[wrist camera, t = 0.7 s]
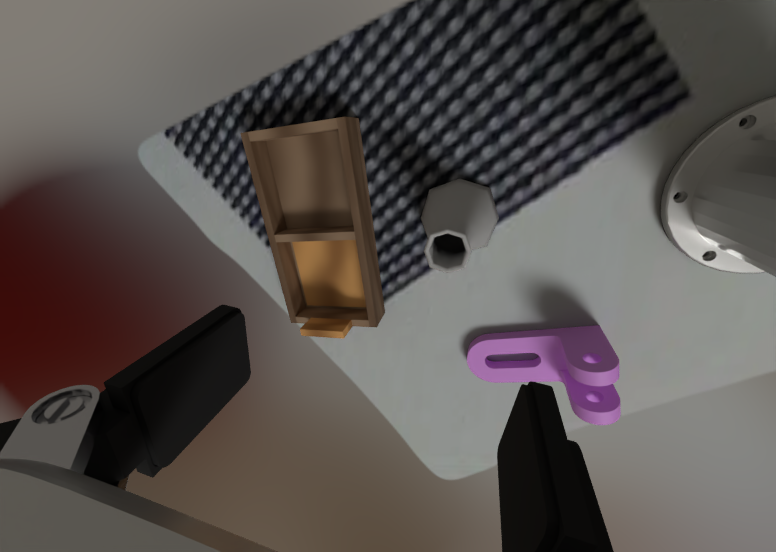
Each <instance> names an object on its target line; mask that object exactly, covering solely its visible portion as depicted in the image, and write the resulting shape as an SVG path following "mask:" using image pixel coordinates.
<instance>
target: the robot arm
mask: <svg viewBox="0 0 776 552" xmlns="http://www.w3.org/2000/svg"><path fill="white" fill-rule="evenodd" d="M741 119H742V124H741V125H740V126H739V122H740V121H741ZM677 192H678V196H677V197H676V198H673V197H674V195H675V194H676V193H677ZM661 218H662V223H663V227H664V230H665V232H666V234H667V236H668V238H669V240H670V241H671V242H672V243H673V244H674V245H675V246H676V248H677V249H678V250H679V251H681V252H682V253H684V254H685V255H686V256H688V257H689V258H691V259H692V260H694V261H696V262H698V263H699V264H701V265H704V266H707V267H710V268H713V269H716V270H719V271H726V272H732V273H764V272H767V273H769V274H771V275H773V276H775V277H776V96H774V97H770V98H767V99H763V100H761V101H758V102H756V103H754V104H751V105H749V106H746V107H744V108H742V109H739V110H738V111H736V112H734V113H733V114H731V115H729V116H728V117H726V118H724V119H722V120H721V121H719V122H718V123H716V124H715V125H714V126H712V127H711V128H710V129H709V130H707V131H706V132H705V133H703V134H702V135H701V136H700V137H699V138H698V139H697V140H696V141H695V142H694V143H693V144H692V145H691V146H690V147H689V148H688V149H687V150H686V151H685V152H684V154H683V155H682V156H681V158H680V159H679V161H678V162H677V163H676V165H675V166H674V168H673V169H672V172H671V174H670V176H669V178H668V180H667V182H666V184H665V187H664V191H663V195H662V199H661ZM705 252H706V253H705ZM704 253H705V254H704ZM250 374H251V371H250V361H249V352H248V345H247V336H246V326H245V318H244V315H243V314H242V313H241V310H240V309H238V308H235V307H231V306H227V305H221V306H219V307H217V308H216V309H214V310H213V311H211V312H210V313H208V314H207V315H205V316H204V317H202V318H201V319H199V320H198V321H196V322H194V323H193V324H192V325H190V326H188V327H187V328H185V329H184V330H182V331H181V332H179V333H178V334H176V335H175V336H173V337H172V338H170V339H169V340H167V341H166V342H164V343H163V344H161V345H160V346H158V347H157V348H155V349H154V350H152V351H151V352H149V353H148V354H146V355H145V356H143V357H141V358H140V359H138V360H137V361H135V362H134V363H132V364H131V365H129V366H128V367H126V368H125V369H124V370H122V371H120V372H119V373H117V374H116V375H114V376H113V377H111V378H110V379H108V380H107V381H105V382H104V385H105V387H106V389H105V390H104V391H103V392H101V393H100V392H99V391H98V389H97V388H95V387H93V386H89V385H78V386H72V387H68V388H64V389H61V390H58V391H56V392H54V393H51V394H49V395H47V396H45V397H44V398H42V399H40V400H39V401H37V402H36V403H35V404H33V405H32V406H31V407H30V408H29V409H28V410H27V412H26V413H25V414H24V416H23V417H22V418H20V419H16V420H13V421H9V422H4V423H0V552H277V551H275V550H272V549H270V548H268V547H265V546H263V545H260V544H258V543H255V542H253V541H250V540H248V539H245V538H243V537H240V536H238V535H235V534H233V533H230V532H228V531H226V530H223V529H221V528H218V527H216V526H213V525H211V524H208V523H206V522H203V521H201V520H198V519H196V518H193V517H191V516H188V515H186V514H183V513H181V512H178V511H176V510H173V509H171V508H168V507H166V506H163V505H161V504H158V503H156V502H153V501H151V500H148V499H146V498H143V497H140V496H138V495H136V494H133V493H131V492H128V491H126V486H127V482H128V478H129V474H130V473H131V472H132V471H133V470H134V469H135V468H137V471H138V472H140V473H142V474H145V475H148V476H150V477H154V476H155V475H156V474H157V473H158V472H159V471H160V470H161V469H162V467H163V468H164V467H166V466H168V465H169V464H171V463H172V462H173V460H175V458H176V457H177V456H178V455H179V454H180V453H181V452H182V451H183V450H184V449H185V448H186V447H187V446H188V445H189V444H190V442H191V441H192V440H193V439H194V438H195V437H196V436H197V435H198V434H199V433H200V432H201V431H202V430H203V429H204V428H205V426H206V425H207V424H208V423H209V422H210V421H211V420H212V419H213V418H214V417H215V416H216V415H217V414H218V413H219V412H220V410H221V409H222V408H223V407H224V406H225V405H226V404H227V403H228V402H229V401H230V400H231V399H232V397H233V396H234V395H235V394H236V393H237V392H238V391H239V390H240V389H241V388H242V387H243V386H244V385H245V384H246V383H247V381H248V380H249V378H250ZM497 460H498V478H499V496H500V515H501V533H502V552H614V551H613V549H612V545H611V542H610V539H609V536H608V533H607V530H606V526H605V523H604V520H603V517H602V514H601V511H600V508H599V505H598V501H597V498H596V495H595V492H594V489H593V486H592V483H591V480H590V477H589V473H588V470H587V467H586V464H585V461H584V458H583V454H582V452H581V449H580V447H579V445H578V444H577V443H576V442H574V441H570V440H567V436H566V433H565V429H564V426H563V422H562V419H561V415H560V412H559V408H558V405H557V401H556V398H555V394H554V391H553V388H552V387H551V386H548V385H544V384H540V383H536V382H532V381H530V382H529V383H528V385H524V384H522V385H521V387H520V390H519V392H518V395H517V398H516V400H515V403H514V406H513V408H512V411H511V414H510V416H509V419H508V422H507V424H506V427H505V430H504V432H503V435H502V438H501V440H500V443H499V446H498V453H497Z"/></svg>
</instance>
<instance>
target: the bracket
mask: <svg viewBox="0 0 776 552" xmlns="http://www.w3.org/2000/svg"><path fill="white" fill-rule="evenodd" d="M515 353H535V354H537V355H539V356H538V357H537V358H536V359H534V360H520V361H497V362H493V361H489V360H488V359H487V358H486V357H487V356H489V355H495V354H515ZM467 363H468V366H469V368H470V370H471V371H472V372H473V373H474V374H475V375H476V376H477V377H479V378H481V379H483V380H485V381H489V382H530V381H532V382H541V381H560V382H563V383H564V384H565V387H566V390H567V394H568V397H569V400H570V403H571V407H572V409H573V411H574V413H575V414H576V415H577V416H578V417H579V418H581V419H582V420H584V421H586V422H588V423H591V424H596V425H609V424H612V423H614V422H616V421H617V420H618V419H619V418H620V414H621V412H620V398H619V395H618V393H617V391H616V389H615V387H614V385H613V383H615V382H616V381H617V380H618V378H619V359H618V357H617V355H616V353H615V351H614V350H613V348H612V346H611V345H610V343H609V341H608V339H607V338H606V336H605V334H604V333H603V331H602V329H601V327H600V326H599V325H596V326H582V327H569V328H556V329H542V330H529V331H516V332H502V333H489V334H484V335H481V336H478V337H477V338H475V339H474V340H473V341H472V342H471V343H470V345H469V348H468V354H467Z"/></svg>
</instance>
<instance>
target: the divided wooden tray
mask: <svg viewBox="0 0 776 552" xmlns="http://www.w3.org/2000/svg"><path fill="white" fill-rule="evenodd" d="M241 137H242V141H243V144H244V148H245V152H246V156H247V159H248V163H249V167H250V171H251V174H252V178H253V182H254V186H255V189H256V193H257V197H258V200H259V204H260V208H261V212H262V215H263V219H264V223H265V227H266V230H267V234H268V238H269V242H270V245H271V249H272V253H273V257H274V260H275V264H276V268H277V272H278V275H279V279H280V283H281V287H282V290H283V294H284V298H285V301H286V305H287V309H288V313H289V316H290V320H291V323H305V324H304V325H303V327H302V328H301V329H300V331H301V335H302V336H316V337H330V338H345V336H346V335H347V333H348V332H349V330H350V329H351V327H352V326H362V327H377V326H378V324H379V322H380V320H381V319H382V317H383V315H384V313H385V309H384V302H383V294H382V287H381V280H380V272H379V265H378V257H377V250H376V243H375V235H374V228H373V221H372V213H371V206H370V198H369V191H368V184H367V176H366V169H365V161H364V154H363V147H362V139H361V132H360V124H359V118H353V117H339V118H333V119H327V120H320V121H314V122H308V123H302V124H295V125H289V126H283V127H276V128H270V129H264V130H258V131H251V132H245V133H241Z"/></svg>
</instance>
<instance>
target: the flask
mask: <svg viewBox="0 0 776 552" xmlns="http://www.w3.org/2000/svg"><path fill="white" fill-rule="evenodd" d="M498 219H499V217H498V214H497V210H496V206H495V203H494V199H493V196H492V192H491V189H490V188H489V187H485V186H482V185H479V184H476V183H472V182H469V181H466V180H463V179H457V180H454V181H451V182H448V183H446V184H443V185H440V186H438V187H435V188H432V189H430V190H429V193H428V196H427V199H426V202H425V206H424V209H423V212H422V215H421V220H422V223H423V226H424V229H425V232H426V234H427V237H428V240H427V243H426V246H425V249H424V252H425V255H426V258H427V261H428V263H429V266H430V267H431V268H433V269H436V270H439V271H442V272H445V273H450V272H454V271H458V270H462V269H465V267H466V265H467V262H468V260H469V257H470V255H471V252H472V250H475V249H479V248H482V247H486V246H487V245H488V242H489V240H490V238H491V235H492V233H493V231H494V228H495V226H496V224H497V221H498Z"/></svg>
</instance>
